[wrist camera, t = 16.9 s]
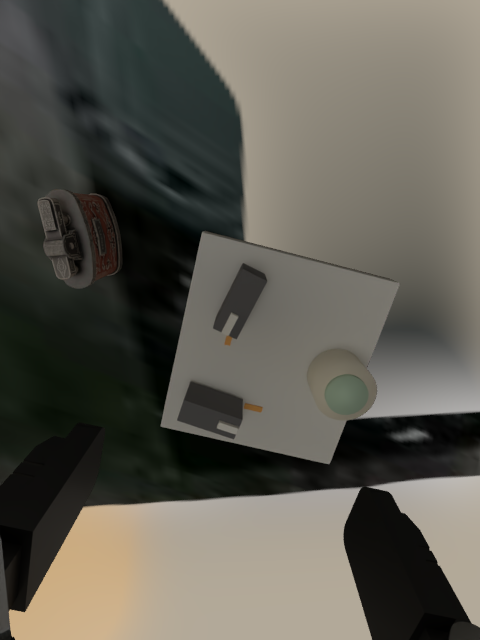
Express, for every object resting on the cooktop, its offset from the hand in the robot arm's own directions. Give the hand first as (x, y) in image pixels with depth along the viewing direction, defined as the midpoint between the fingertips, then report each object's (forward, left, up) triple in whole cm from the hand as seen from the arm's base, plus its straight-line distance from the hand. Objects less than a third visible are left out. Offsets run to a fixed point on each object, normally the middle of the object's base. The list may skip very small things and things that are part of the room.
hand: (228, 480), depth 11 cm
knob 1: (0, -12, -25) cm, 28 cm away
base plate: (+5, -6, -28) cm, 29 cm away
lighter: (-15, +2, -28) cm, 32 cm away
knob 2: (0, 0, -25) cm, 25 cm away
